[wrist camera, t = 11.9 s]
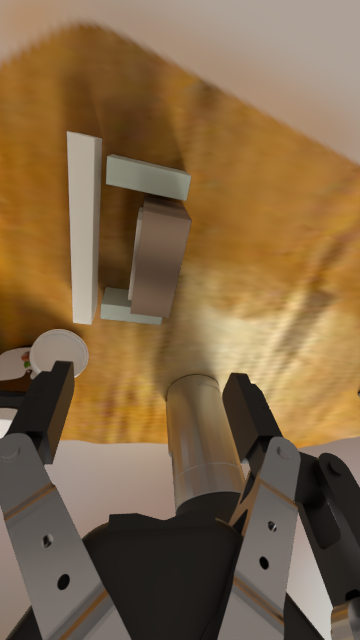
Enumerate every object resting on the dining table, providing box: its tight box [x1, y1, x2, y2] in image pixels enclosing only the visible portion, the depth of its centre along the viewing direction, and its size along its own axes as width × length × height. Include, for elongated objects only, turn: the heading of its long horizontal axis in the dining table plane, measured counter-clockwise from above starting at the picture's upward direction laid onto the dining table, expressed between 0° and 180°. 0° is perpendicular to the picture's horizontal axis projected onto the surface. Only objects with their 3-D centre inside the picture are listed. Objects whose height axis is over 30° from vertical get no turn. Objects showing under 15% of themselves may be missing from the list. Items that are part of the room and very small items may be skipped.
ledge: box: [67, 131, 191, 325], centre depth 27 cm, size 18×10×4 cm, turn 168°
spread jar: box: [0, 329, 89, 439], centre depth 32 cm, size 12×11×12 cm
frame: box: [128, 196, 192, 318], centre depth 26 cm, size 10×4×7 cm, turn 168°
